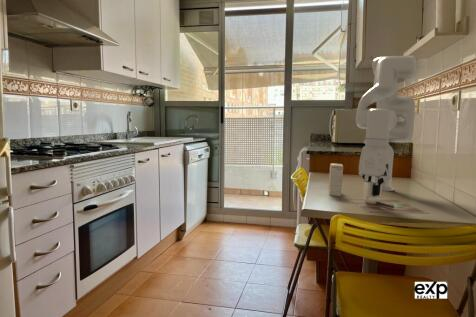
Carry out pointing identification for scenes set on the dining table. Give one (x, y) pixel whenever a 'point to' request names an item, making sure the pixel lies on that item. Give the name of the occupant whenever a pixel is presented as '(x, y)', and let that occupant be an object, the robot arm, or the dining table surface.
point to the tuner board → (377, 208)
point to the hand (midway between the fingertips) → (372, 194)
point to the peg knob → (369, 197)
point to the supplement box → (335, 179)
